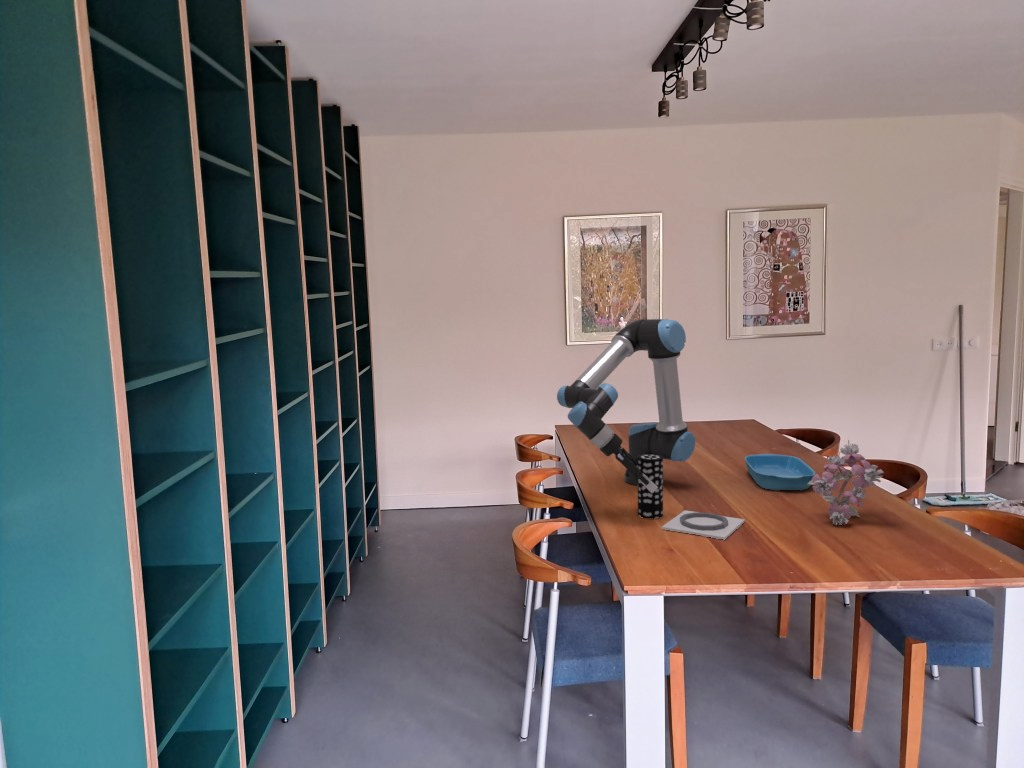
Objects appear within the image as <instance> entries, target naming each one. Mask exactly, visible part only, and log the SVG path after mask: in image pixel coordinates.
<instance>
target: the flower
mask: <svg viewBox="0 0 1024 768" xmlns="http://www.w3.org/2000/svg"><path fill="white" fill-rule="evenodd" d="M847 440H848V441H847V444H845V445H844V444H843V446H844V447H843V446H841V447H840V449H839V450H840V451H839V452H838V455H835V454H833V456H832V455H831V454H830V455H828V456H829V457H828V459H827V460H828V462H829V463H828V464H827V463H826V464H825V465H824V466H823V472H822V475H821V476H820V475H819V474H818V473H815V475H814V476H813V478H812V480H811V481H810V482H809V483H808V484H807V485H810V486H811V485H812V489H813V491H814V492H815V493H816V495H819V494H820V496H821V498H823V499H824V500H825V501H826V502H827V503H829V507H828V508H827V514H828V515H829V519H830V520H832V525H833V524H834V525H835V526H837V525H838V526H839V525H842V524H843V523H844V524H845V525H846V524H848V522H849V521H850V520H849V519H851V517H855V516H856V517H858V518H859V517H860V518H861V516H860V515H859V513H858V510H857V509H856V507H858V508H859V507H860V508H861V507H862V506H863V504H864V503H863V500H862V499H866V498H867V491H865V488H866V489H867V488H868V487H869V486H872V487H873V486H874V487H876V486H877V484H876V483H875V482H878V483H881V482H882V481H881V478H883V476H884V475H882V474H885V472H884V471H883V470H882V469H881V468H880V469H878V470H877V468H878V467H879V466H878V465H875V464H871V463H870V462H869V461H867V460H866V458H865V456H863V455H862V454H860V453H859V452H860V450H859V449H860V448H859V444H857V443H850V440H849V439H847ZM841 454H843V456H840V455H841ZM857 462H859V463H860V464H861V465H860V464H857ZM845 464H847V466H849V467H850V468H851V469H846V467H844V465H845ZM838 470H839V471H838ZM837 471H838V472H837ZM854 476H857V477H856V478H853V477H854ZM852 478H853V479H852ZM850 480H851V483H852V484H853V488H852V489H849V490H845V489H846V487H847V484H848V483H849V482H850ZM839 481H844V482H843V483H842V485H841V487H840V489H839ZM838 489H839V491H838V494H837V496H835V495H833V493H834V492H832V491H831V490H833V491H834V490H838ZM844 490H845V491H844ZM843 492H844V493H843ZM841 495H843V496H842V497H841ZM840 497H841V498H840ZM857 503H858V505H857V506H856V507H855V506H854V505H856V504H857ZM842 526H843V525H842Z"/></svg>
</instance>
